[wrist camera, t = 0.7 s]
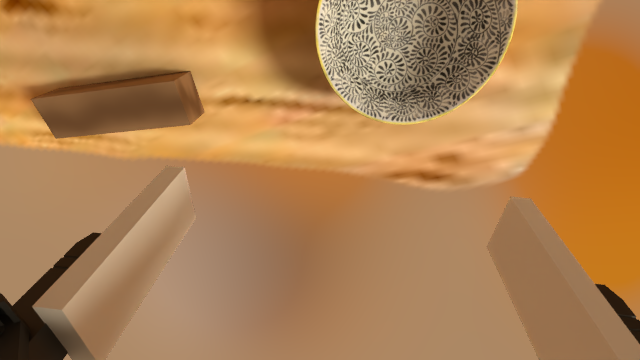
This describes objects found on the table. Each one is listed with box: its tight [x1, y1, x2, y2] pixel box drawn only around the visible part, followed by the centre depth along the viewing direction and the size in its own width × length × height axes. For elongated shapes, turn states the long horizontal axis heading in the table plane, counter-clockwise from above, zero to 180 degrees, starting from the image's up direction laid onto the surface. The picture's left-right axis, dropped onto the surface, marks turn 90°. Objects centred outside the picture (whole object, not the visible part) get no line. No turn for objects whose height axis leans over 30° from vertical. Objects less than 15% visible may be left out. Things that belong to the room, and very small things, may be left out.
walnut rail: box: [31, 71, 204, 139], centre depth 38 cm, size 5×18×4 cm, turn 98°
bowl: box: [315, 0, 518, 124], centre depth 29 cm, size 16×16×8 cm
